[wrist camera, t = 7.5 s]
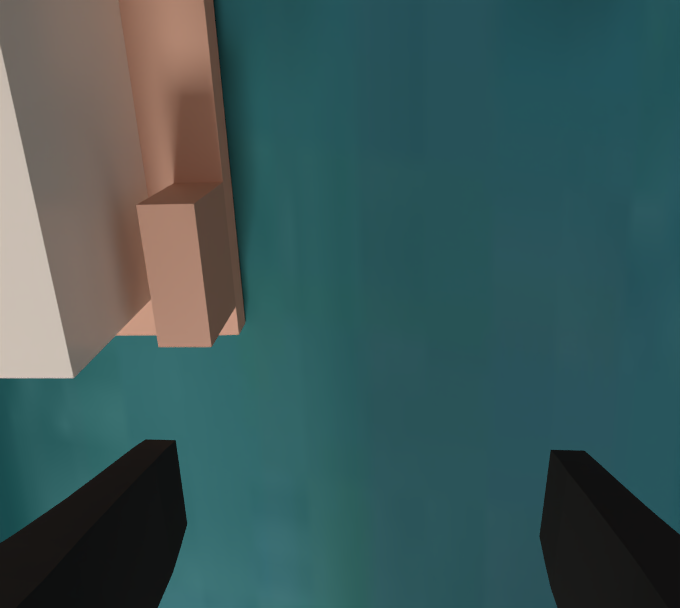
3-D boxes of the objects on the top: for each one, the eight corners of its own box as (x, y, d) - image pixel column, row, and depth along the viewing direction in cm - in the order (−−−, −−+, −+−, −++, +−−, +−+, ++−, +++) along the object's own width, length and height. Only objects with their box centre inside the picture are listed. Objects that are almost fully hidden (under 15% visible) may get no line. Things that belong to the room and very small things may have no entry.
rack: (169, -439, 14) (91, -621, 10) (245, 322, 21) (215, 379, 17) (-158, -407, 15) (-344, -568, 11) (22, 324, 22) (-54, 378, 18)
